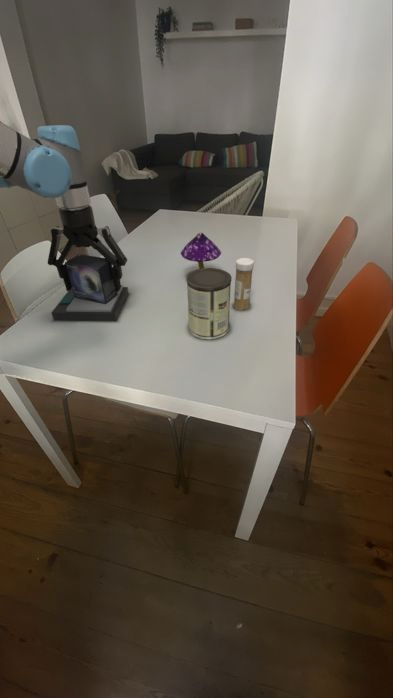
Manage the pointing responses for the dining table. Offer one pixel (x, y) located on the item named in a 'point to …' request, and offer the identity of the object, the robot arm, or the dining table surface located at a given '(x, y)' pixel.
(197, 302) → the coffee can
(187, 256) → the decorative mushroom
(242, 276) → the sprinkles bottle
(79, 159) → the robot arm
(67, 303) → the scale
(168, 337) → the dining table surface
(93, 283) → the small box
